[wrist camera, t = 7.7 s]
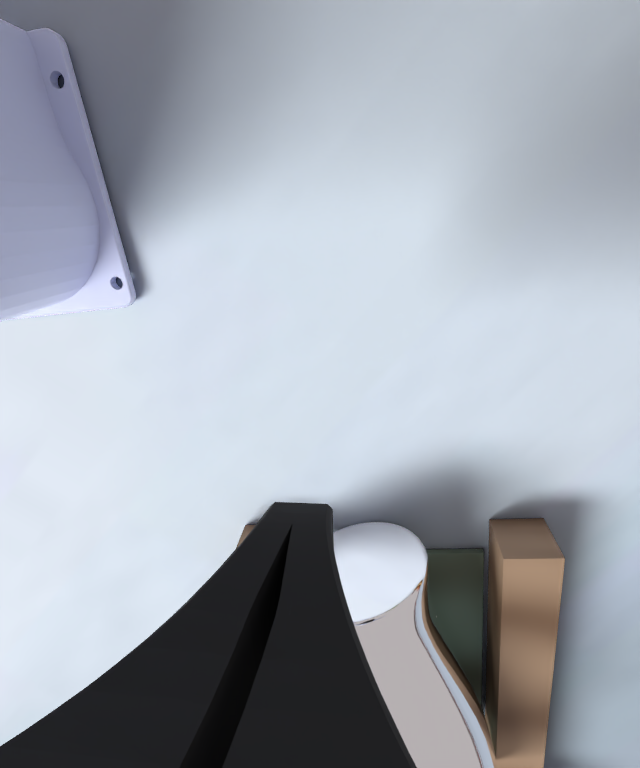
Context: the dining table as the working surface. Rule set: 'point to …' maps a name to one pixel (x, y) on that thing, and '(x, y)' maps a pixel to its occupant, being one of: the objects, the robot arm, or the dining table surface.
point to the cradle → (504, 629)
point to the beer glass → (410, 647)
